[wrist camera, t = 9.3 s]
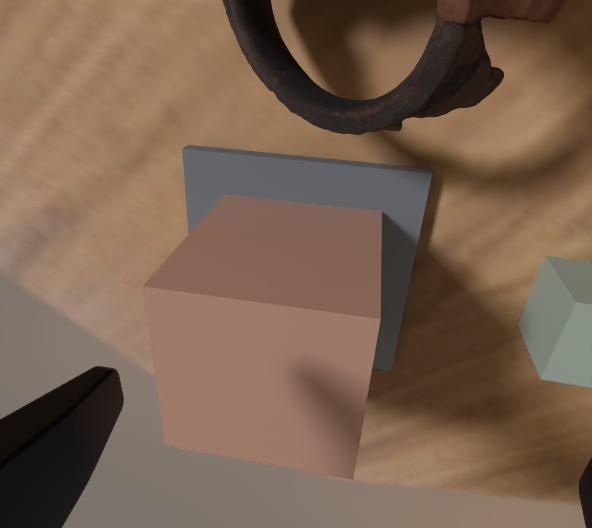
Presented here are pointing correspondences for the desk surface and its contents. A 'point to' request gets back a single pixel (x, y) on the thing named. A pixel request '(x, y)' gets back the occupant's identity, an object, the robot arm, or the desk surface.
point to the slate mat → (325, 191)
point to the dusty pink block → (269, 332)
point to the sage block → (560, 321)
